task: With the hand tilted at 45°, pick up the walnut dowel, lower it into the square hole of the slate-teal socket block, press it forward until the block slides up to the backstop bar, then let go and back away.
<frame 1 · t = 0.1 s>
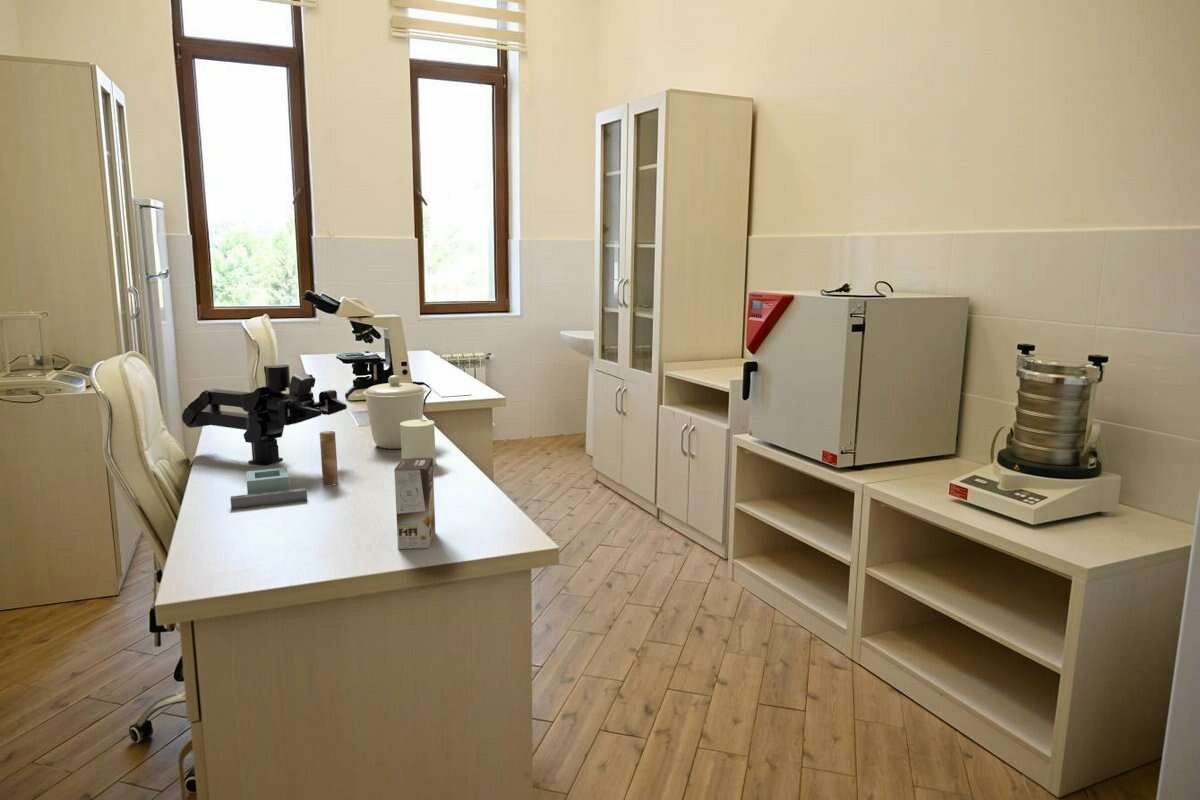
hand: (334, 409, 206), 17 cm above the table, tool horizontal, fingers open, 9 cm apart
socket block: (268, 484, 189), point 3 cm above the table, slide at 0.0 cm
backstop bar: (269, 503, 183), on the table
coffee box: (417, 541, 160), on the table
dowel: (330, 483, 199), on the table
can: (419, 465, 217), on the table
canister: (397, 445, 238), on the table
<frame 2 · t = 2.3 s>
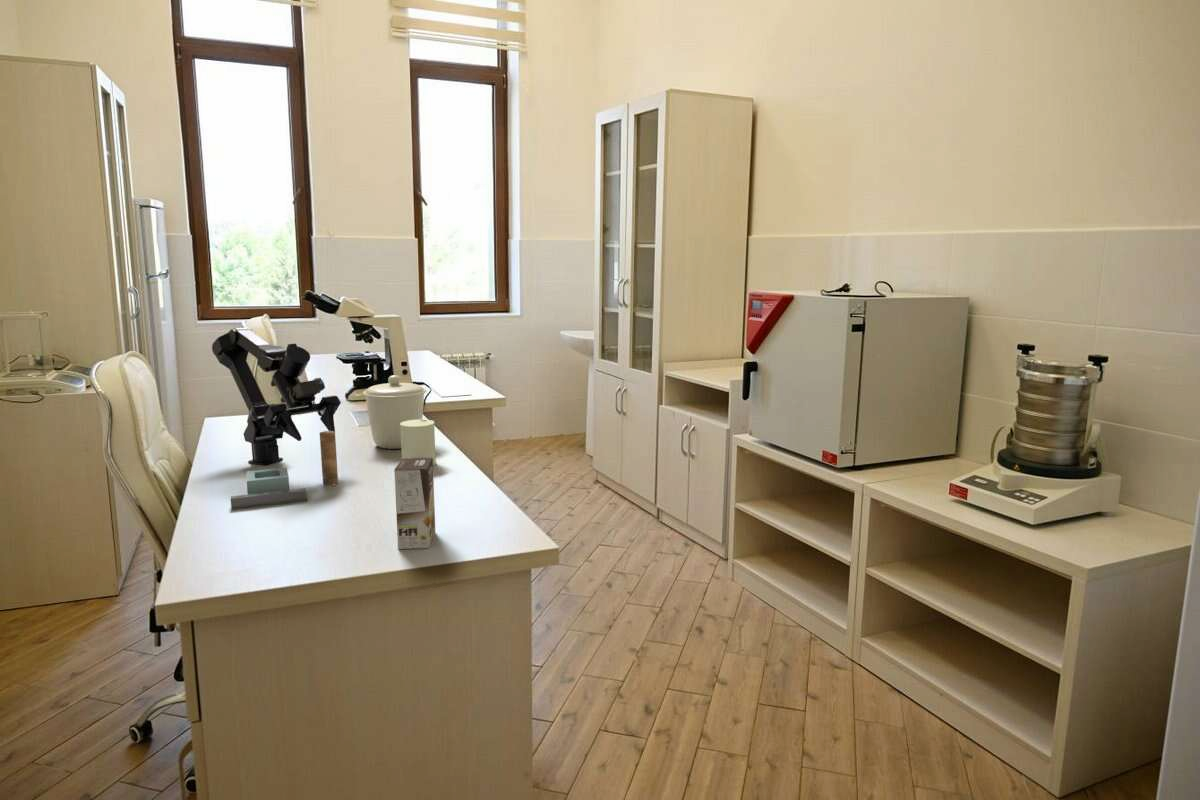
hand: (317, 436, 199), 11 cm above the table, tool tilted 45°, fingers open, 9 cm apart
nothing on the table moved.
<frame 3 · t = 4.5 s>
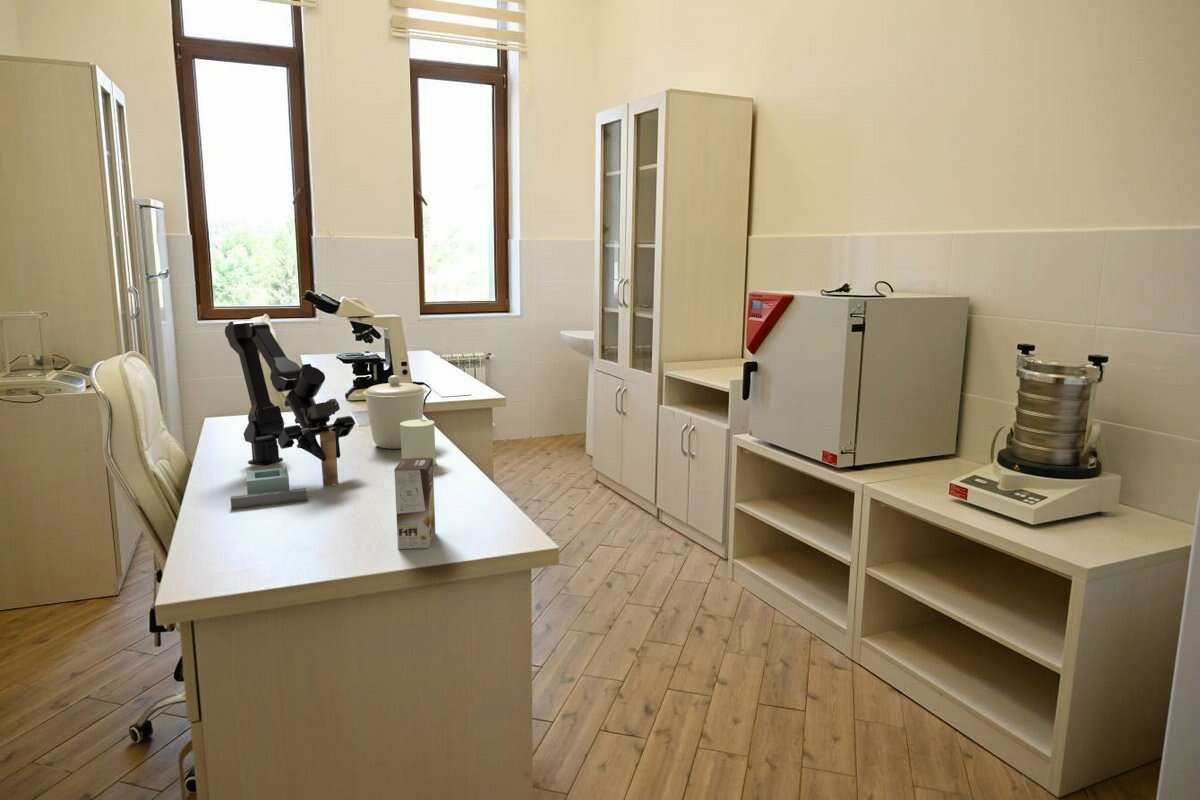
hand: (332, 458, 196), 7 cm above the table, tool tilted 45°, fingers closed on dowel, 4 cm apart
dowel: (330, 483, 199), on the table, touching gripper
everything else where it was.
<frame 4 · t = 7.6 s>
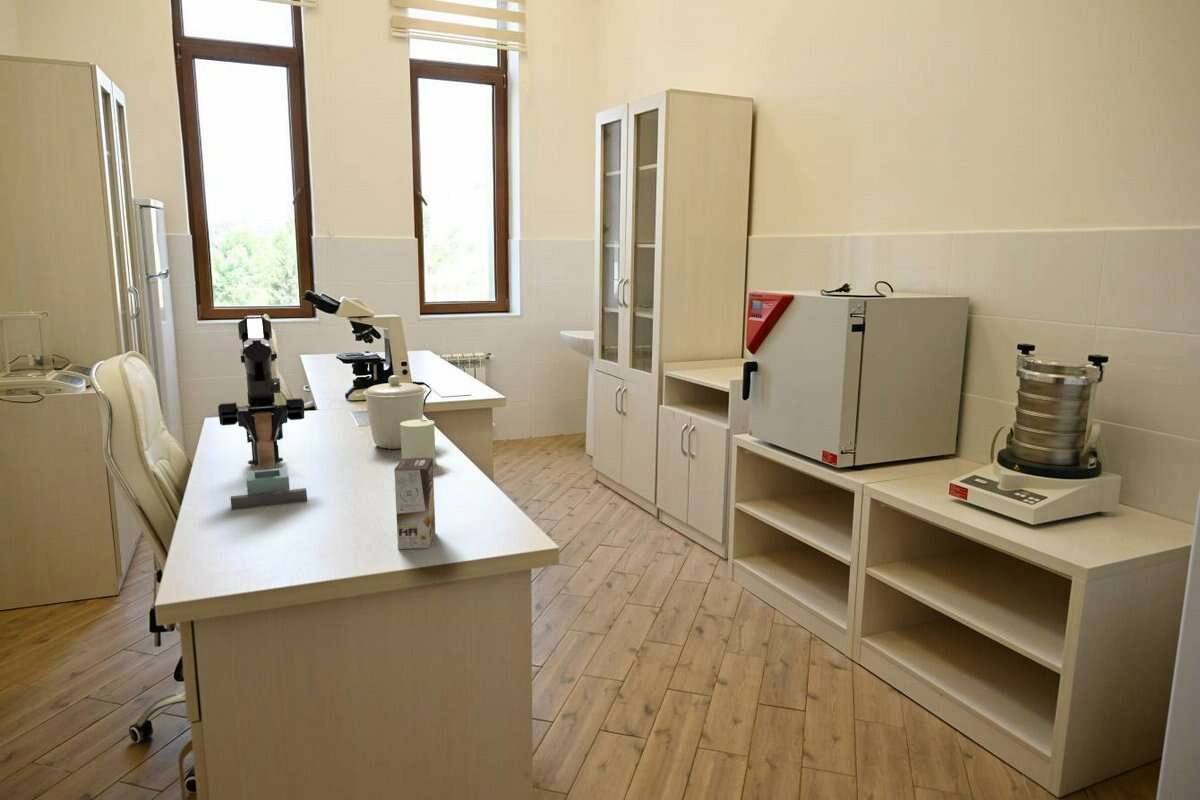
hand: (264, 441, 186), 13 cm above the table, tool tilted 45°, fingers closed on dowel, 4 cm apart
dowel: (266, 467, 188), point 7 cm above the table, touching gripper
everything else where it was.
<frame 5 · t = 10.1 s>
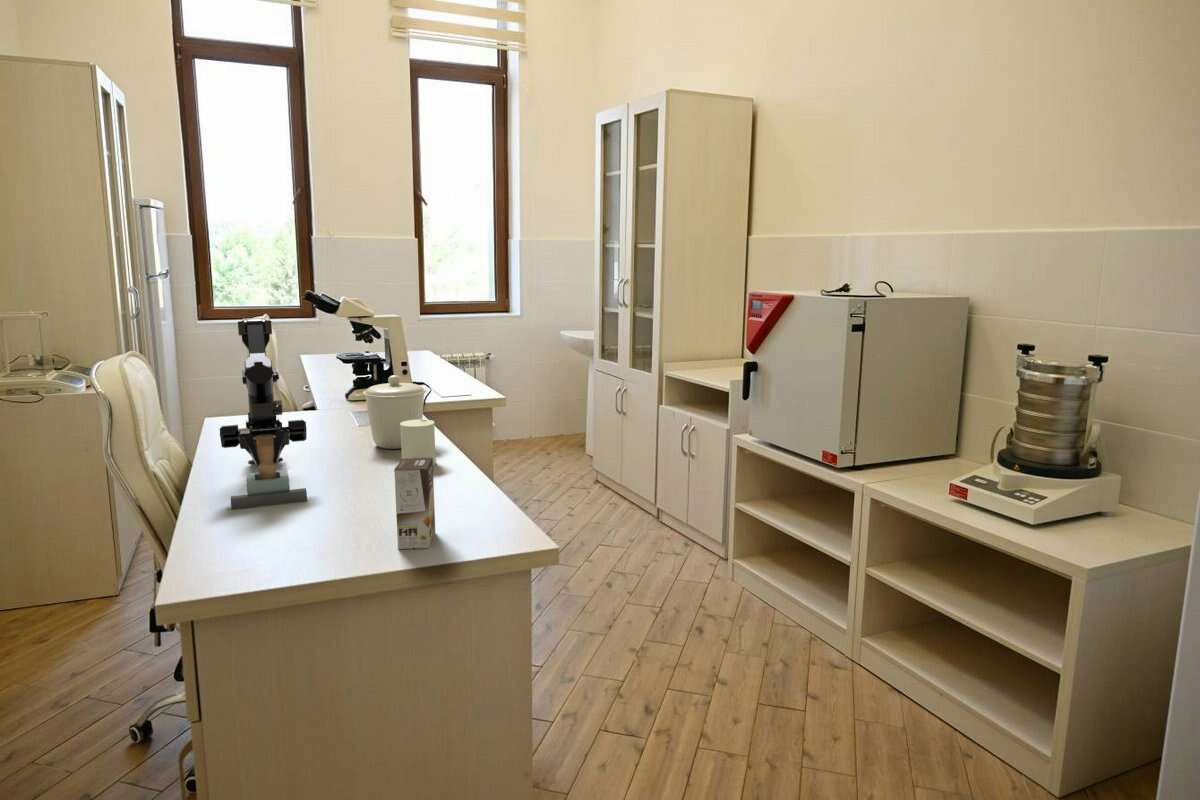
hand: (266, 464, 184), 8 cm above the table, tool tilted 45°, fingers closed on dowel, 4 cm apart
socket block: (268, 486, 188), point 2 cm above the table, slide at 1.9 cm
dowel: (268, 489, 187), point 2 cm above the table, touching gripper
everything else where it was.
when the fingers open (8 cm above the table, at t = 10.8 s): dowel stays where it is, resting on socket block.
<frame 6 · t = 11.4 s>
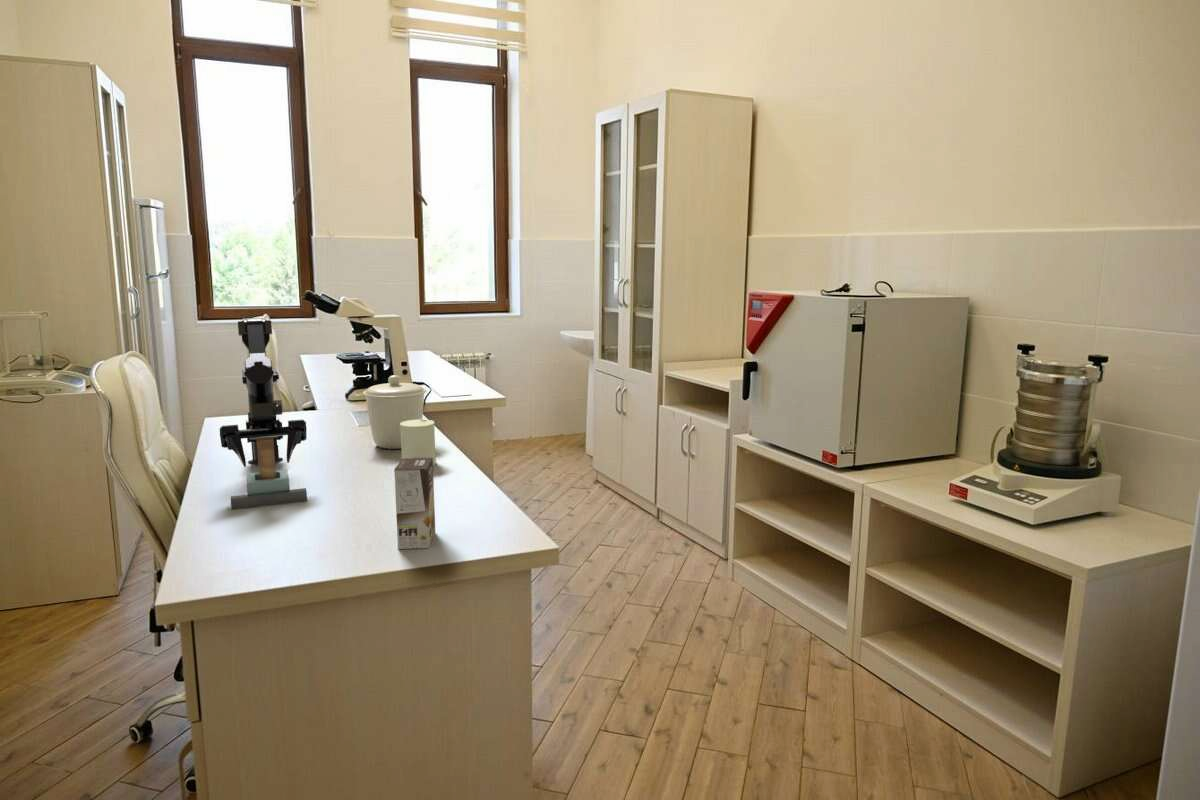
hand: (266, 463, 184), 9 cm above the table, tool tilted 45°, fingers open, 9 cm apart
socket block: (268, 486, 188), point 3 cm above the table, slide at 1.9 cm, touching dowel
dowel: (268, 493, 187), point 1 cm above the table, touching socket block
everything else where it was.
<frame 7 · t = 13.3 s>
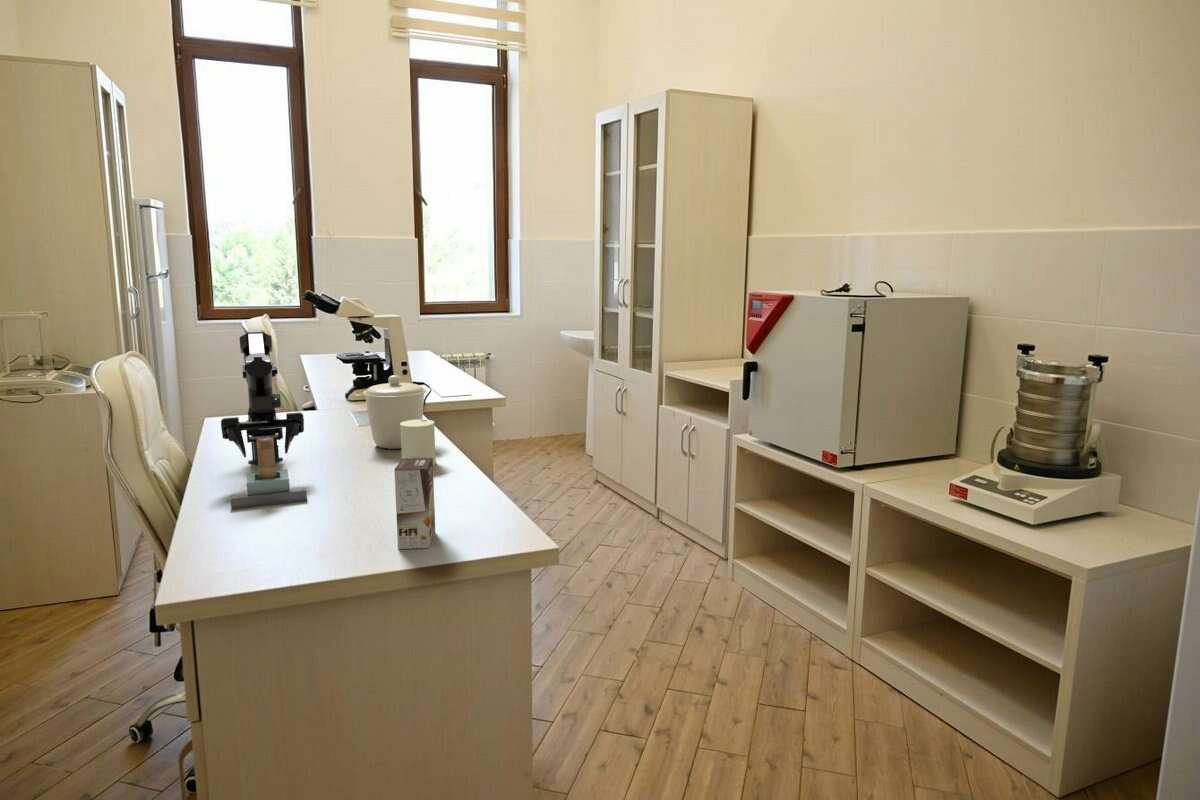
hand: (265, 454, 193), 8 cm above the table, tool tilted 45°, fingers open, 9 cm apart
nothing on the table moved.
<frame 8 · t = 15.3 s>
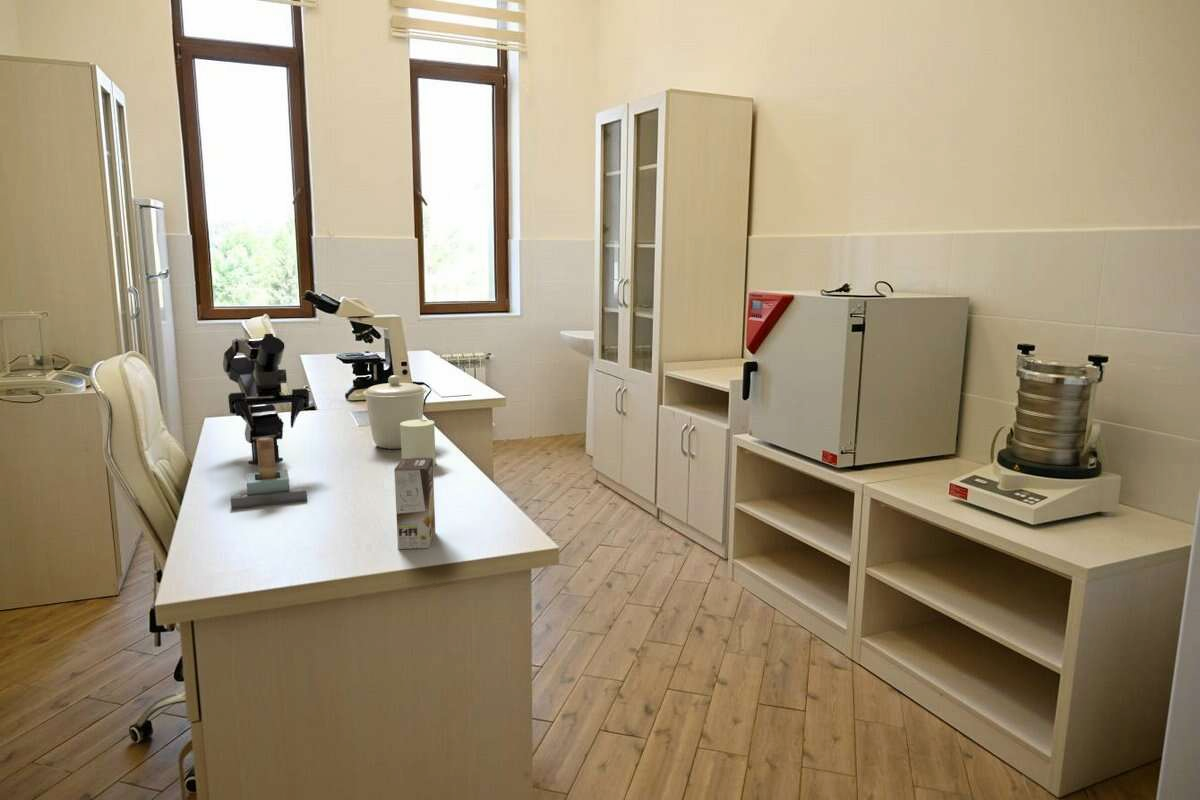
hand: (272, 428, 198), 14 cm above the table, tool tilted 45°, fingers open, 9 cm apart
nothing on the table moved.
at the end: dowel 0.5 cm off-centre on the socket block, point 1.0 cm above the socket block's base; socket block slide at 1.9 cm; dowel tilted 0° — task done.
